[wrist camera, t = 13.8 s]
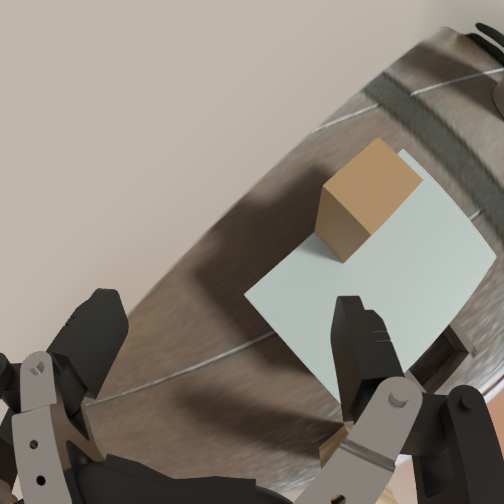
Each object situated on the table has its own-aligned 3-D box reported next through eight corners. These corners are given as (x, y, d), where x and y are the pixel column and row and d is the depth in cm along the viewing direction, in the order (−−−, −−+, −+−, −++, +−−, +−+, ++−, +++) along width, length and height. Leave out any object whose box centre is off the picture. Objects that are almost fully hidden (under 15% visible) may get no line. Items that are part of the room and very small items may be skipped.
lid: (399, 154, 21) (436, 86, 12) (490, 258, 18) (559, 233, 9) (246, 295, 21) (209, 285, 12) (351, 413, 18) (380, 472, 9)
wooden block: (344, 424, 23) (382, 527, 8) (367, 442, 22) (415, 541, 7) (318, 446, 23) (329, 558, 8) (341, 463, 22) (366, 571, 7)
